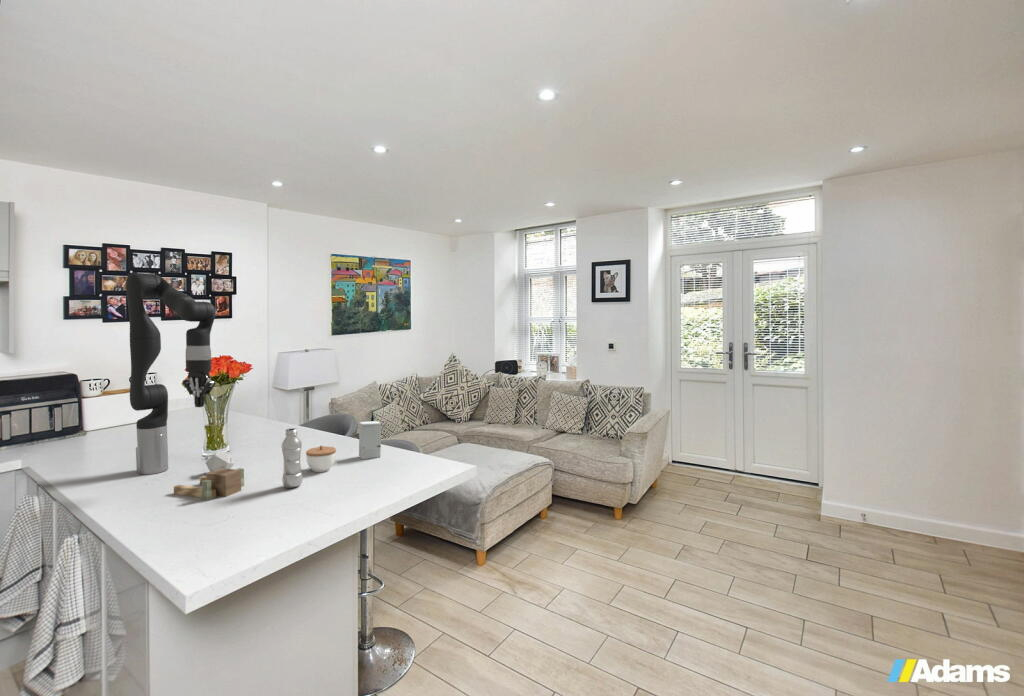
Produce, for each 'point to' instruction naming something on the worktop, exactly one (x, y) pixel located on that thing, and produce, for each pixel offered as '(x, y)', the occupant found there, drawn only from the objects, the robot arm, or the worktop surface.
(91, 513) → the worktop surface
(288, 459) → the plastic bottle
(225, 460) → the die
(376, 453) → the skincare box
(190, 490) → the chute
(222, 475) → the block
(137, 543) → the worktop surface
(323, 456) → the lidded jar
